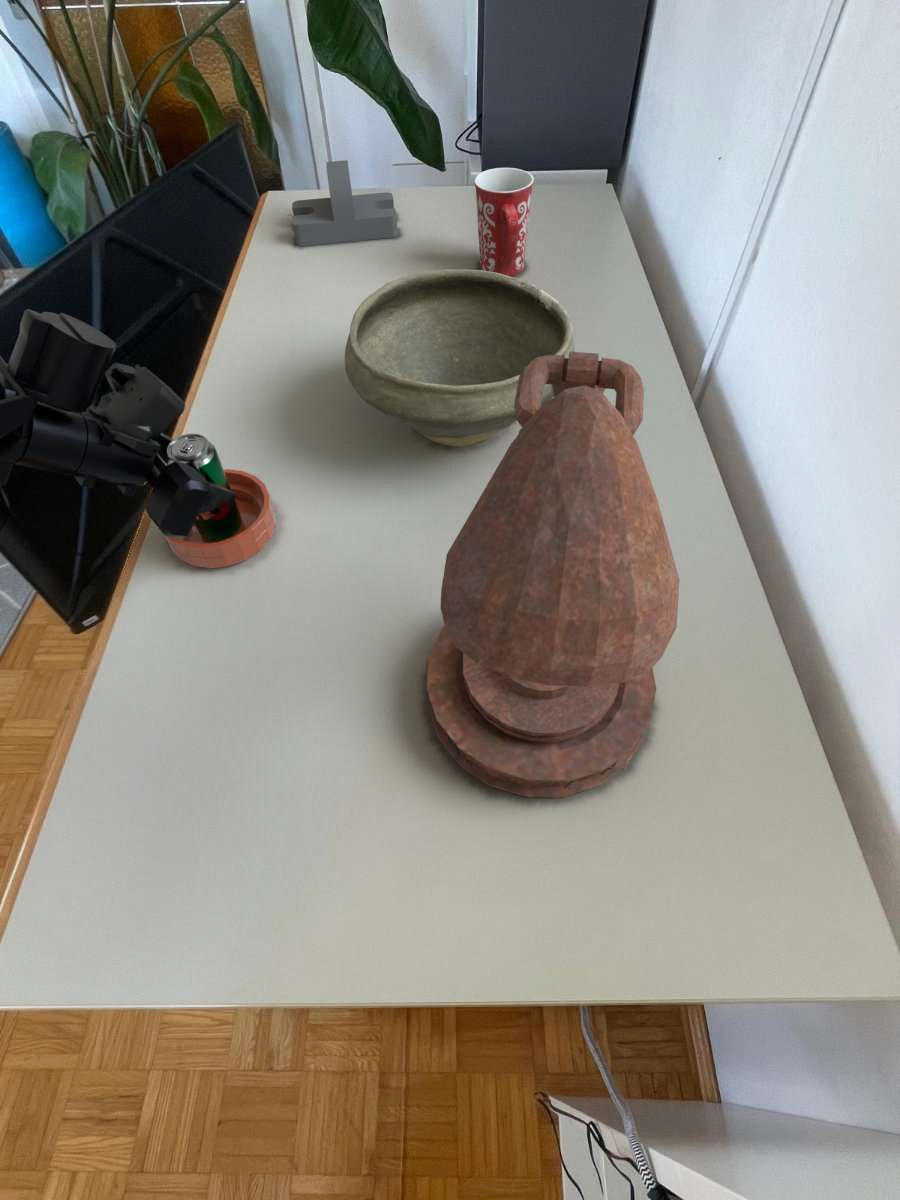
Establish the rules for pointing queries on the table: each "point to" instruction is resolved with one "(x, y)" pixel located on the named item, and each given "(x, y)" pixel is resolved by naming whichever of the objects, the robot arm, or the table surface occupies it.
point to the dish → (248, 538)
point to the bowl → (452, 350)
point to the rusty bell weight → (557, 592)
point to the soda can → (206, 459)
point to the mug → (503, 218)
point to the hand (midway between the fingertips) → (216, 478)
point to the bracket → (343, 213)
